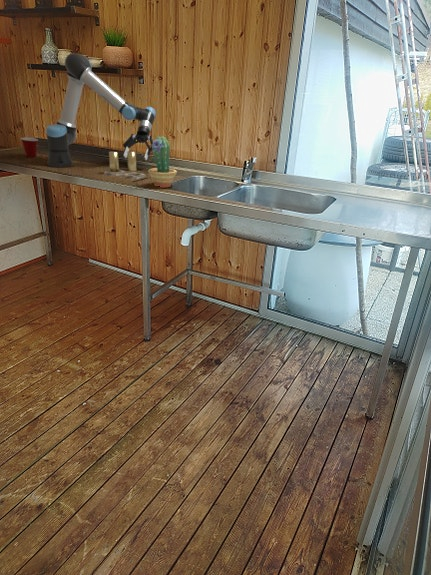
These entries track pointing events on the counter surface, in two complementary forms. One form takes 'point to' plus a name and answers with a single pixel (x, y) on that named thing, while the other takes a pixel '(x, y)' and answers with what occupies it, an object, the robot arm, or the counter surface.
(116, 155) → the cylinder
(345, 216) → the counter surface
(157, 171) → the potted cactus
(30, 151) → the plastic cup
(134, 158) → the brass billet
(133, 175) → the pallet
